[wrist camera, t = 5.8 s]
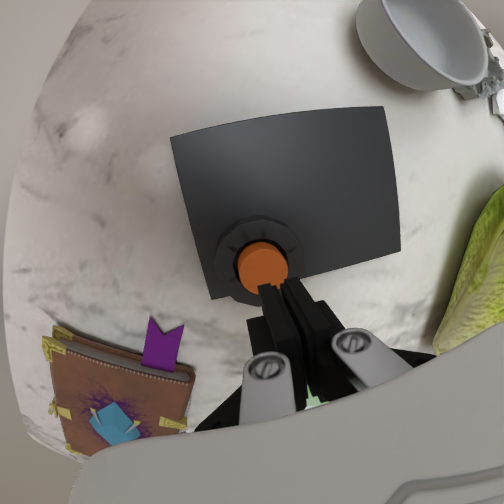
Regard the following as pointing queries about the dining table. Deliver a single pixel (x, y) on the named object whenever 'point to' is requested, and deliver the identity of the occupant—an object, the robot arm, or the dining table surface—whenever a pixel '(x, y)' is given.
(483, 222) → the lettuce
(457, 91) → the egg carton
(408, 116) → the dining table surface
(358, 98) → the dining table surface
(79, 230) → the dining table surface
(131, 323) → the dining table surface
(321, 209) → the scale
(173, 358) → the book
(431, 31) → the teacup
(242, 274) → the button
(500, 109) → the spray bottle
